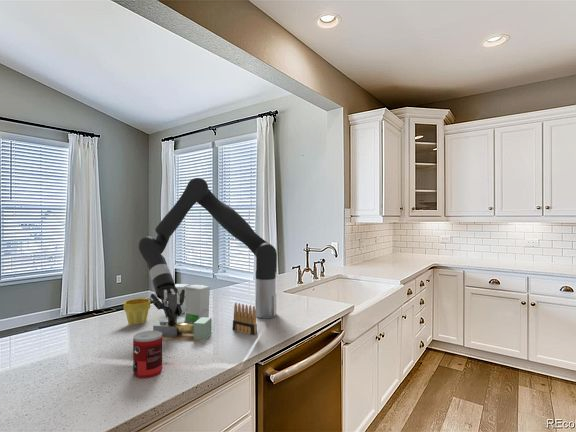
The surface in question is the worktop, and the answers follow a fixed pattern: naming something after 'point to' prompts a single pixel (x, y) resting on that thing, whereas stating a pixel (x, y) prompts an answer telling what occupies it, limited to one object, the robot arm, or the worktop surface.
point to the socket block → (202, 328)
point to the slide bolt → (173, 319)
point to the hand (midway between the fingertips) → (174, 315)
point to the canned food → (147, 354)
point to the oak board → (183, 338)
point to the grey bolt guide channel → (167, 329)
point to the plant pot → (137, 310)
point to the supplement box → (181, 287)
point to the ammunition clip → (245, 319)
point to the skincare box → (197, 302)
